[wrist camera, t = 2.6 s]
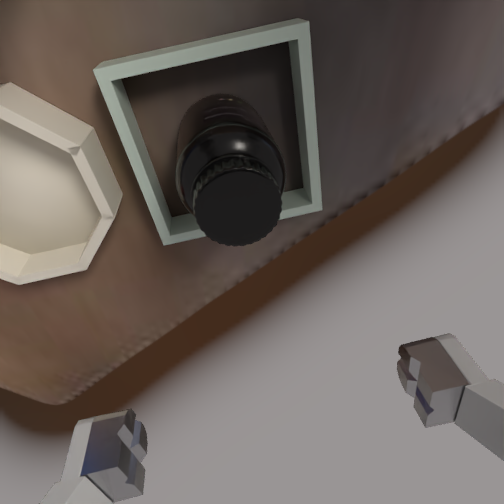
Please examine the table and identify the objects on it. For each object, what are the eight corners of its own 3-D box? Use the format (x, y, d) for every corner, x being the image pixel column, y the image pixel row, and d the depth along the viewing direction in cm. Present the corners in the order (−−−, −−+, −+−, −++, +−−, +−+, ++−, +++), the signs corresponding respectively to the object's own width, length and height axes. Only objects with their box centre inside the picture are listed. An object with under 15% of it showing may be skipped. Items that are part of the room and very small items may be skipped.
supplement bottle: (257, 180, 31) (285, 266, 22) (176, 173, 30) (169, 260, 20) (272, 97, 28) (315, 156, 18) (180, 84, 26) (173, 140, 17)
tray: (297, 17, 25) (309, 21, 22) (313, 193, 33) (322, 210, 30) (102, 61, 25) (92, 69, 22) (165, 226, 33) (163, 245, 30)
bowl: (68, 68, 25) (49, 81, 22) (140, 232, 33) (134, 259, 30) (-129, 113, 25) (-176, 131, 22) (-8, 265, 33) (-29, 295, 30)
